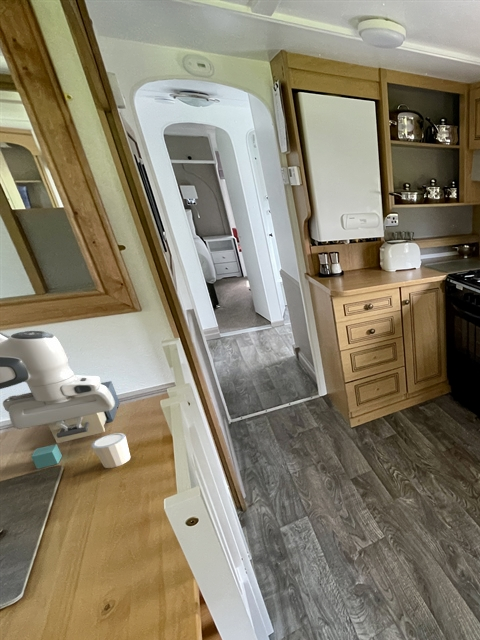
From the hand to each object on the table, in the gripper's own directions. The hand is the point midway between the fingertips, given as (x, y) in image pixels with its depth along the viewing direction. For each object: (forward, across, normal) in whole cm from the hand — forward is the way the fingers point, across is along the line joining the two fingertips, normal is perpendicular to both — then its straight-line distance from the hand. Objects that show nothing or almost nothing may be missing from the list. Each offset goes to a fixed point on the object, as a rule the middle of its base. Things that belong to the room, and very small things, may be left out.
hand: (74, 431), depth 108 cm
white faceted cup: (+5, +10, -15) cm, 19 cm away
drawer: (+4, 0, +6) cm, 7 cm away
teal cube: (+5, -5, -6) cm, 9 cm away
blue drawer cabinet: (+5, 0, +18) cm, 18 cm away
